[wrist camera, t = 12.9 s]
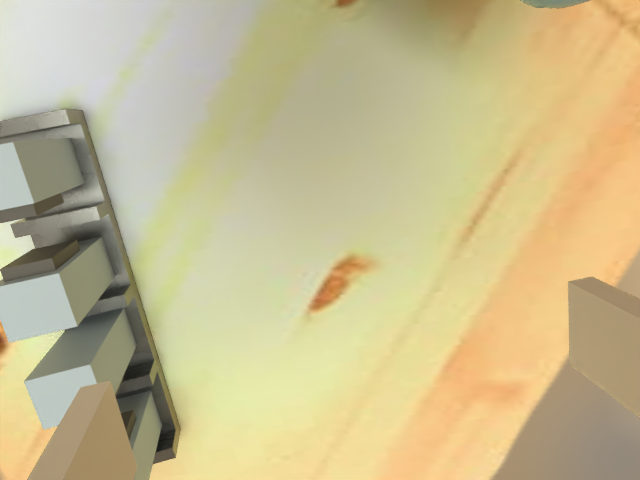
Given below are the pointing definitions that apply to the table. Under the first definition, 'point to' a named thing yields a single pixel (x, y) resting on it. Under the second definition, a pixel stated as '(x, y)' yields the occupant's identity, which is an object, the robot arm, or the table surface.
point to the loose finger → (81, 363)
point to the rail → (99, 221)
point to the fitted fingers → (60, 271)
